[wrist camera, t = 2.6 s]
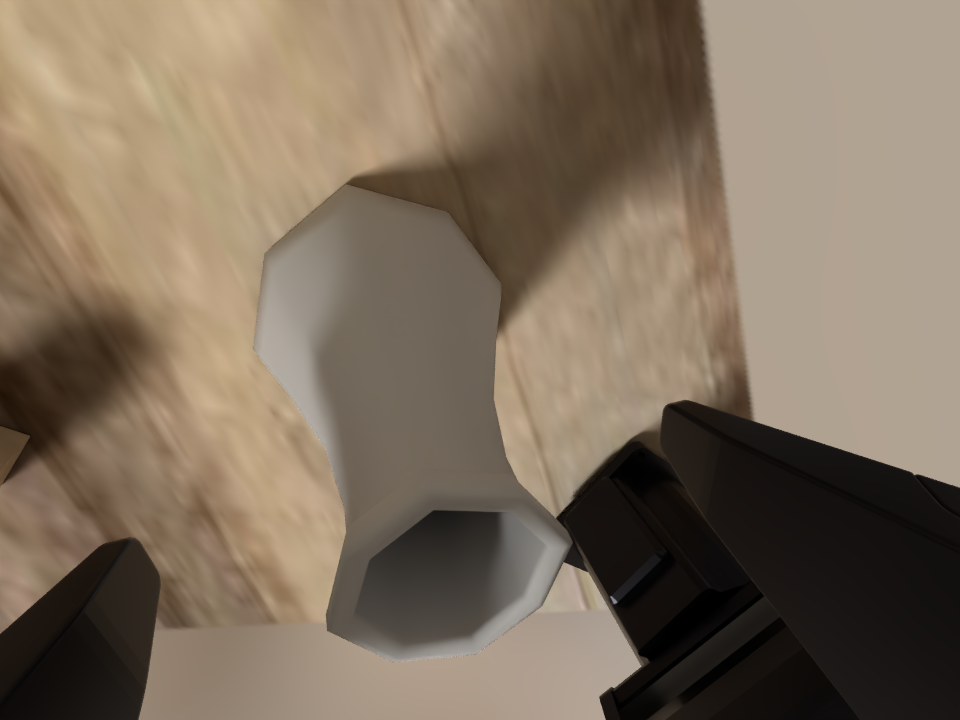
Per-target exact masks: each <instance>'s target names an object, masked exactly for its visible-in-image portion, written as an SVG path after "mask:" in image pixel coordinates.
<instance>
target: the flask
mask: <svg viewBox="0 0 960 720" xmlns="http://www.w3.org/2000/svg"><path fill="white" fill-rule="evenodd" d="M501 290H502V284H501V283H500V281H499V280H498V279H497V277H496V276H495V275H494V273H493V272H492V271H491V269H490V268H489V267H488V265H487V264H486V263H485V261H484V260H483V259H482V257H481V256H480V255H479V253H478V252H477V251H476V249H475V248H474V247H473V245H472V244H471V243H470V241H469V240H468V238H467V237H466V236H465V234H464V233H463V232H462V230H461V229H460V228H459V226H458V225H457V224H456V222H455V221H454V220H453V218H452V217H451V216H450V214H449V213H448V212H446V211H442V210H439V209H435V208H431V207H428V206H424V205H420V204H417V203H413V202H409V201H406V200H402V199H398V198H395V197H391V196H387V195H383V194H380V193H376V192H372V191H369V190H365V189H361V188H358V187H354V186H350V185H347V184H345V185H344V186H343V187H342V188H340V189H339V190H338V191H337V192H336V193H335V194H333V195H332V196H331V197H330V198H329V199H328V200H326V201H325V202H324V203H323V204H322V205H321V206H319V207H318V208H317V209H316V210H315V211H314V212H312V213H311V214H310V215H309V216H308V217H306V218H305V219H304V220H303V221H302V222H301V223H299V224H298V225H297V226H296V227H295V228H294V229H292V230H291V231H290V232H289V233H288V234H287V235H285V236H284V237H283V238H282V239H281V240H280V241H278V242H277V243H276V244H275V245H274V246H273V247H271V248H270V249H269V250H268V251H267V252H266V253H265V254H264V262H263V270H262V279H261V287H260V295H259V303H258V311H257V319H256V327H255V335H254V343H253V349H254V351H255V352H256V354H257V355H258V357H259V358H260V360H261V361H262V362H263V363H264V365H265V366H266V367H267V368H268V370H269V371H270V372H271V373H272V375H273V376H274V377H275V378H276V380H277V381H278V382H279V383H280V385H281V386H282V387H283V388H284V390H285V391H286V392H287V393H288V395H289V396H290V398H291V399H292V401H293V402H294V404H295V405H296V407H297V408H298V410H299V411H300V412H301V414H302V415H303V417H304V418H305V420H306V421H307V423H308V424H309V426H310V427H311V429H312V430H313V432H314V433H315V435H316V436H317V438H318V439H319V441H320V442H321V444H322V445H323V447H324V448H325V451H326V454H327V457H328V460H329V463H330V466H331V469H332V472H333V475H334V478H335V481H336V484H337V487H338V490H339V493H340V496H341V499H342V502H343V505H344V508H345V522H346V535H345V539H344V543H343V548H342V552H341V556H340V560H339V564H338V568H337V572H336V576H335V580H334V584H333V589H332V593H331V597H330V601H329V605H328V609H327V613H326V622H327V631H329V632H331V633H333V634H335V635H338V636H339V637H341V638H343V639H346V640H348V641H350V642H352V643H354V644H356V645H358V646H360V647H362V648H364V649H366V650H368V651H370V652H372V653H375V654H376V655H379V656H381V657H383V658H385V659H387V660H389V661H391V662H401V661H413V660H423V659H434V658H445V657H457V656H469V655H476V654H477V653H479V652H480V651H481V650H483V649H484V648H486V647H487V646H488V645H490V644H491V643H492V642H494V641H495V640H497V639H498V638H499V637H500V636H502V635H503V634H505V633H506V632H507V631H509V630H510V629H512V628H513V627H514V626H516V625H517V624H518V623H520V622H521V621H522V620H524V619H525V618H526V617H528V616H529V615H531V614H532V613H533V612H535V611H536V610H537V609H539V608H540V607H541V606H542V605H543V603H544V601H545V599H546V597H547V595H548V593H549V591H550V589H551V587H552V585H553V583H554V581H555V579H556V576H557V574H558V572H559V570H560V568H561V566H562V564H563V562H564V560H565V558H566V556H567V554H568V552H569V550H570V547H571V545H572V543H573V542H572V540H571V538H570V536H569V534H568V531H567V530H566V529H565V528H564V527H563V526H562V525H561V524H560V522H559V521H558V520H557V519H556V518H555V517H554V516H553V515H552V514H551V513H550V512H548V511H547V510H546V509H545V508H544V507H543V506H542V505H541V504H540V503H539V502H538V501H537V500H536V499H535V498H534V497H533V496H532V495H531V494H530V493H529V492H528V491H527V490H526V489H525V488H524V487H523V486H522V485H521V484H520V483H519V482H518V480H517V478H516V476H515V474H514V472H513V470H512V468H511V466H510V464H509V462H508V460H507V458H506V454H505V449H504V445H503V440H502V435H501V431H500V426H499V422H498V417H497V412H496V408H495V403H494V377H495V355H496V335H497V327H498V319H499V311H500V303H501Z"/></svg>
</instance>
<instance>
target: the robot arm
mask: <svg viewBox="0 0 960 720" xmlns="http://www.w3.org/2000/svg"><path fill="white" fill-rule="evenodd" d="M660 445H661V449H662V451H663V453H664V455H665V456H666V458H667V459H668V460H667V459H665V458H664V457H662V456H661V455H659V454H658V453H656V452H655V451H654V450H652V449H651V448H649V447H648V446H646V445H645V444H643V443H641V442H634V443H632V444H630V445H629V446H627V447H626V448H625V450H624V451H623V452H622V453H621V454H620V455H619V456H618V457H617V458H616V459H615V460H614V461H613V462H612V463H611V464H610V465H609V467H608V468H607V469H606V470H605V471H604V472H603V473H602V474H601V475H600V476H599V477H598V478H597V479H596V480H595V481H594V482H593V483H592V485H591V486H590V487H589V488H588V489H587V490H586V491H585V492H584V493H583V494H582V495H581V496H580V497H579V498H578V499H577V500H576V501H575V503H574V504H573V505H572V506H571V507H570V508H569V509H568V510H567V511H566V512H565V513H564V514H563V515H562V516H561V517H560V518H559V519H558V521H559V522H560V524H561V525H562V526H563V527H564V528H565V529H566V530H567V531H568V534H569V536H570V538H571V540H572V542H573V543H572V545H571V547H570V550H569V552H568V554H567V556H566V558H565V560H564V562H565V563H567V564H570V565H572V566H574V567H577V568H579V569H582V570H584V571H586V572H589V574H590V575H591V577H592V579H593V581H594V583H595V584H596V586H597V588H598V590H599V591H600V593H601V595H602V597H603V599H604V600H605V602H606V604H607V606H608V607H609V609H610V611H611V613H612V614H613V616H614V618H615V620H616V622H617V623H618V625H619V627H620V629H621V630H622V632H623V634H624V636H625V638H626V639H627V641H628V643H629V645H630V646H631V648H632V650H633V652H634V653H635V655H636V657H637V659H638V661H639V663H640V664H641V666H642V667H641V668H639V669H638V670H637V671H636V672H634V673H633V674H632V675H630V676H629V677H628V678H627V679H625V680H624V681H623V682H622V683H621V684H619V685H618V686H617V687H615V688H612V687H611V688H609V689H608V690H607V691H606V692H604V693H603V694H602V695H601V696H600V697H599V698H600V702H601V705H602V709H603V712H604V715H605V718H606V720H960V488H959V487H956V486H953V485H949V484H946V483H943V482H940V481H937V480H934V479H931V478H928V477H925V476H922V475H914V474H913V473H911V472H909V471H906V470H903V469H900V468H897V467H893V466H890V465H887V464H884V463H881V462H878V461H875V460H871V459H869V458H866V457H863V456H859V455H856V454H853V453H850V452H847V451H844V450H841V449H838V448H834V447H832V446H828V445H825V444H822V443H819V442H816V441H813V440H810V439H807V438H804V437H800V436H797V435H794V434H791V433H788V432H785V431H782V430H779V429H775V428H773V427H769V426H766V425H763V424H760V423H757V422H754V421H751V420H748V419H745V418H742V417H739V416H736V415H732V414H729V413H726V412H723V411H720V410H717V409H714V408H711V407H708V406H705V405H701V404H698V403H695V402H692V401H689V400H682V401H678V402H674V403H670V404H667V405H666V406H665V407H664V409H663V415H662V423H661V431H660ZM637 453H638V454H637ZM160 586H161V582H160V576H159V572H158V570H157V568H156V567H155V565H154V564H153V562H152V560H151V559H150V557H149V555H148V554H147V552H146V551H145V549H144V547H143V546H142V544H141V543H140V541H139V540H137V539H136V538H133V537H128V538H124V539H120V540H116V541H112V542H108V543H105V544H103V545H101V546H100V547H98V548H97V549H96V550H95V551H94V552H92V553H91V554H90V555H89V556H88V557H87V558H86V559H85V560H83V561H82V562H81V563H80V564H79V565H78V566H77V567H76V568H74V569H73V570H72V571H71V572H70V573H69V574H68V575H66V576H65V577H64V578H63V579H62V580H61V581H60V582H59V583H57V584H56V585H55V586H54V587H53V588H52V589H51V590H50V591H48V592H47V593H46V594H45V595H44V596H43V597H42V598H40V599H39V600H38V601H37V602H36V603H35V604H34V605H33V606H31V607H30V608H29V609H28V610H27V611H26V612H25V613H23V614H22V615H21V616H20V617H19V618H18V619H17V620H16V621H14V622H13V623H12V624H11V625H10V626H9V627H8V628H7V629H5V630H4V631H3V632H2V633H1V634H0V720H138V719H139V715H140V711H141V707H142V702H143V698H144V693H145V689H146V683H147V678H148V672H149V665H150V658H151V651H152V644H153V637H154V630H155V623H156V616H157V609H158V602H159V595H160Z"/></svg>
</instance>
